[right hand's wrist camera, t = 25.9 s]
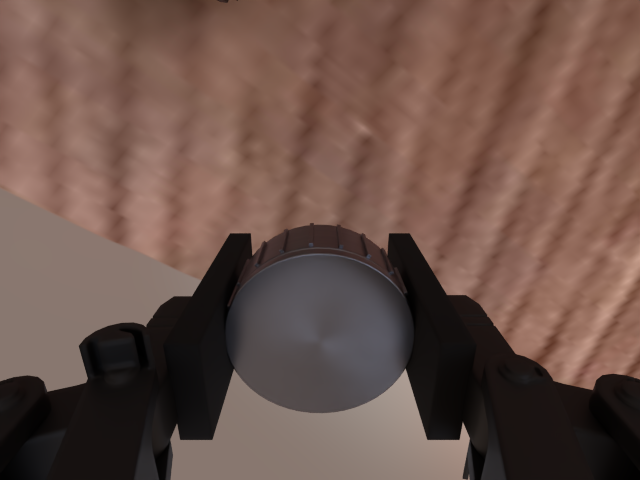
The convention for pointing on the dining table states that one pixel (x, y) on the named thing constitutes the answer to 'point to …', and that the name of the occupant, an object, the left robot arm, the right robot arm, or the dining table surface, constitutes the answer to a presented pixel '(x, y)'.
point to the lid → (319, 320)
